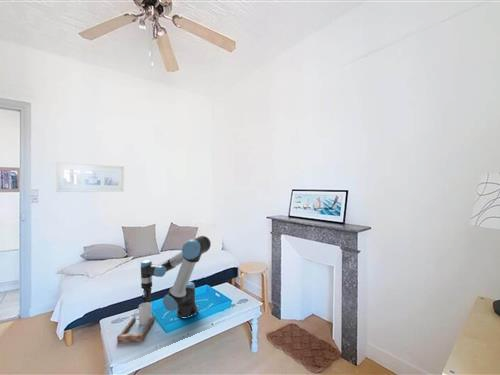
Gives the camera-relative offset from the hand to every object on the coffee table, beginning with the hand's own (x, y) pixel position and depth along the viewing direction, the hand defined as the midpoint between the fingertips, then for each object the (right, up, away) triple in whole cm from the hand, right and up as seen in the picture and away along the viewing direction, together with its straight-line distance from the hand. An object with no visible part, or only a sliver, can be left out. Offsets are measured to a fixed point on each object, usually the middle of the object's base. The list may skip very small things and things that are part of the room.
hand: (147, 313), depth 188 cm
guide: (+1, -2, -18) cm, 18 cm away
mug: (0, -2, -9) cm, 9 cm away
